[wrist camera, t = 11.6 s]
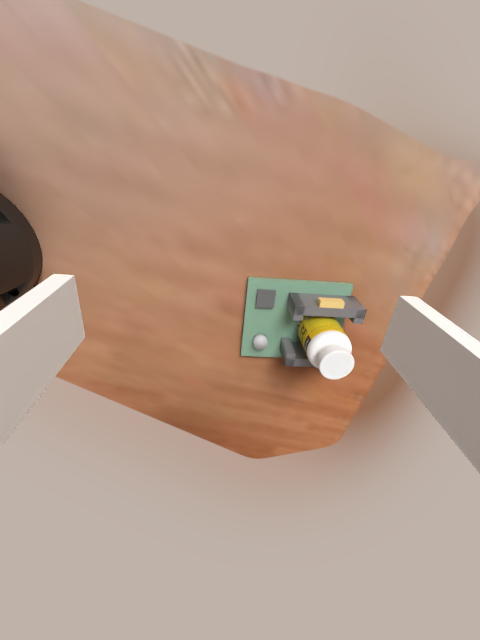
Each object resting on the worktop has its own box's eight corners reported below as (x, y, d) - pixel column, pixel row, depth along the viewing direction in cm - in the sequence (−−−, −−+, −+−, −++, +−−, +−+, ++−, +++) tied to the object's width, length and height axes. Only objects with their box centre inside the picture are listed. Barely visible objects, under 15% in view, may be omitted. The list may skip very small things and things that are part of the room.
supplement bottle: (292, 312, 42) (309, 352, 33) (331, 301, 41) (359, 339, 33) (299, 344, 44) (317, 389, 36) (336, 334, 44) (363, 377, 35)
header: (279, 348, 45) (284, 365, 41) (290, 286, 40) (296, 299, 36) (338, 351, 45) (348, 368, 42) (355, 290, 41) (368, 304, 37)
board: (240, 352, 46) (241, 360, 44) (248, 276, 40) (249, 282, 38) (331, 356, 47) (335, 364, 45) (351, 283, 41) (357, 288, 39)
